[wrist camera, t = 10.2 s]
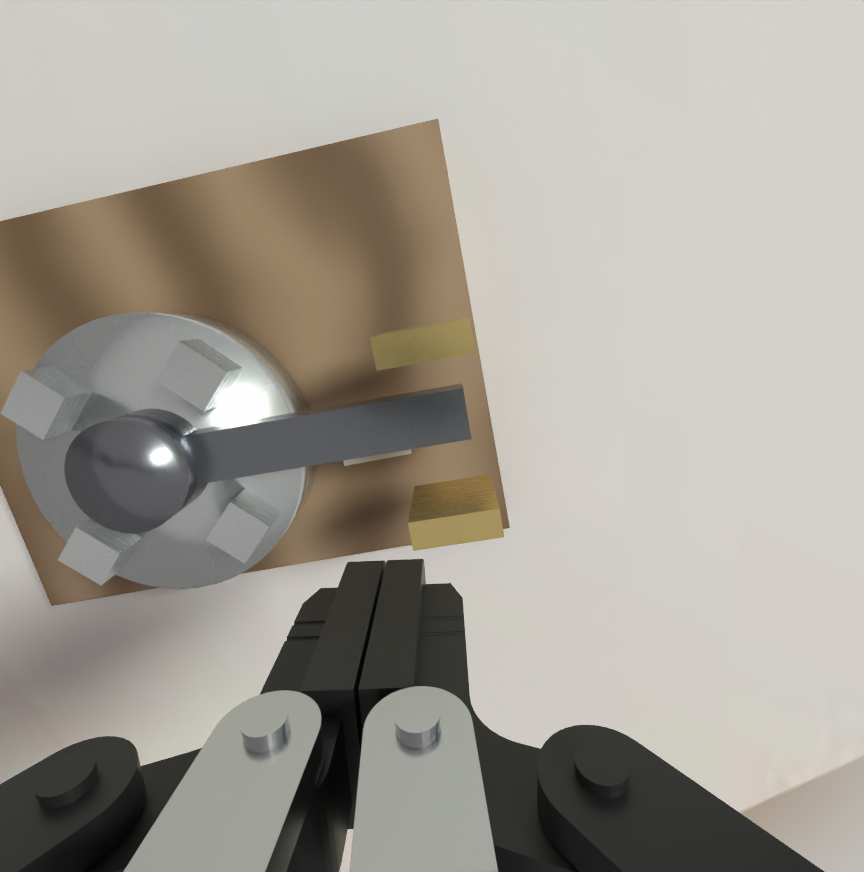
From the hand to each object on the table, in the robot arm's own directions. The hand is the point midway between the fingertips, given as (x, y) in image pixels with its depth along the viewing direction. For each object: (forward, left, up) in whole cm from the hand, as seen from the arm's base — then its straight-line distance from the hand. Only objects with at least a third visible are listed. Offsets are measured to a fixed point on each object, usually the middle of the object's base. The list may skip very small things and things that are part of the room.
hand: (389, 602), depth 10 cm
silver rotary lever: (-7, +2, -13) cm, 15 cm away
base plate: (-9, +4, -15) cm, 18 cm away
